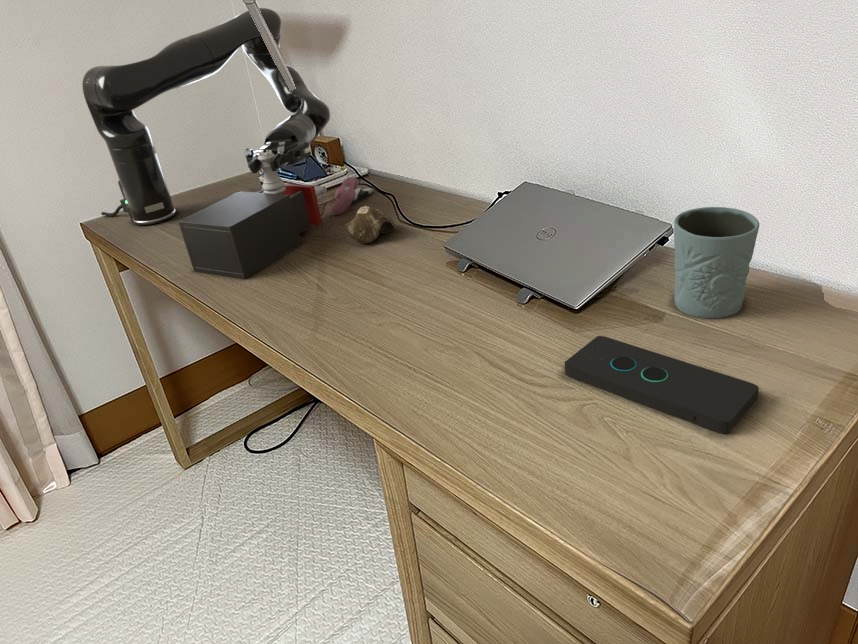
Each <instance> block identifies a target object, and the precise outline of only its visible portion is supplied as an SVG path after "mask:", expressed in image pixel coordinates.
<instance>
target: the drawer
mask: <svg viewBox="0 0 858 644" xmlns="http://www.w3.org/2000/svg"><path fill="white" fill-rule="evenodd" d="M284 187H286V190H285V192H284V193H282V194H285V195H290V199H291V203H292V207H293V211H294V215H295V220H296V224H297V228H298V232H299V234H301V233H302V232H304V231H305V230H307V229H309V228H311V226H321V225H322V224H323V220H322V215H321V212H320V207H319V202H318V198H317V196H319V195H320V194H326V193H327V192H328V191H327V190H328V189H327V187H326V186H325V185H313V184H312V185H311V184H296V183H284ZM263 191H264V189H263V188H261V189H260V190H258V191H256V192H257V193H263Z"/></svg>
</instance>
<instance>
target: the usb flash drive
mask: <svg viewBox="0 0 858 644" xmlns="http://www.w3.org/2000/svg"><path fill="white" fill-rule="evenodd" d="M374 191H375V190H374V188H370V187H366V188H364V189H362V187H357V188H356V190H355V196H356V195H357V200H356V201H355V199H354V200H353V202H352V203H351V205H354V204H356V203H357V202H358V201H360V200H363V199H364V198H366V197H368V196H370V194H371V193H373V192H374Z"/></svg>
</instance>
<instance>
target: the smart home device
mask: <svg viewBox="0 0 858 644" xmlns="http://www.w3.org/2000/svg"><path fill="white" fill-rule="evenodd" d="M564 374H565V375H566V376H567V377H569V378H571V379H574V380H577V381H579V382H581V383H585V384H587V385H590V386H593V387H595V388H598V389H601V390H603V391H606V392H607V393H608V392H609V393H611V394H614V395H617V396H619V397H621V398H624V399H627V400H630V401H633V402H635V403H638V404H641V405H643V406H645V407H648V408H651V409H653V410H657V411H659V412H662V413H665V414H667V415H670V416H672V417H675V418H677V419H680V420H683V421H686V422H688V423H691V424H693V425H697V426H699V427H701V428H704V429H707V430H710V431H712V432H715V433H719V434H723V435H727V434H730V432H731V431H732V430H733V429H734V428H735V426H736V425H737V424H738V423H739V422H740V421H741V419H742V418H743V417H744V416H745V415H746V414H747V412H748V411H749V410H750V409H751V408H752V407H753V406H754V404H755V403H756V402H757V401H758V398H759V391H760V386H758V385H757V384H755V383H753V382H750V381H747V380H744V379H741V378H737V377H734V376H731V375H728V374H724V373H721V372H719V371H716V370H712V369H708V368H706V367H702V366H700V365H697V364H693V363H690V362H686V361H683V360H680V359H676V358H675V357H672V356H668V355H665V354H662V353H659V352H655V351H652V350H649V349H646V348H643V347H640V346H636V345H633V344H630V343H627V342H624V341H620V340H618V339H616V338H615V339H614V338H612V337H608V336H603V335H597V336H595V337H594V338H593V339H592V340H590V341H589V342H588V343H587V344H585V345H584V346H583V347H582V348H581V349H579V350H578V351H576V352H575V353H574V354H573V355H571V356H570V357H569V358H568V359H566V360H565V361H564Z"/></svg>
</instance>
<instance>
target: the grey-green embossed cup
mask: <svg viewBox="0 0 858 644" xmlns="http://www.w3.org/2000/svg"><path fill="white" fill-rule="evenodd" d="M759 230H760V221H759V219H758V218H757V217H756V216H754V214H751V213H750V212H748V211H745V210H742V209H737V208H732V207H726V206H704V207H697V208H692V209H688V210H685V211H683V212H680V213H679V214H678V215H677V216H676V217H675V218H674V221H673V243H674V267H673V268H674V272H675V274H674V287H673V290H674V292H673V295H674V296H673V299H674V304H675V306H676V308H677V309H678V311H681V312H682V313H684V314H686V315H689V316H692V317H696V318H702V319H723V318H727V317H730V316H733V315H735V314H737V313H738V312H739V311H740V310H741V309H742V307H743V303H744V299H745V295H746V288H747V280H748V275H749V273H750V263H751V261H752V259H753V254H754V251H755V247H756V242H757V237H758V234H759Z"/></svg>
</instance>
